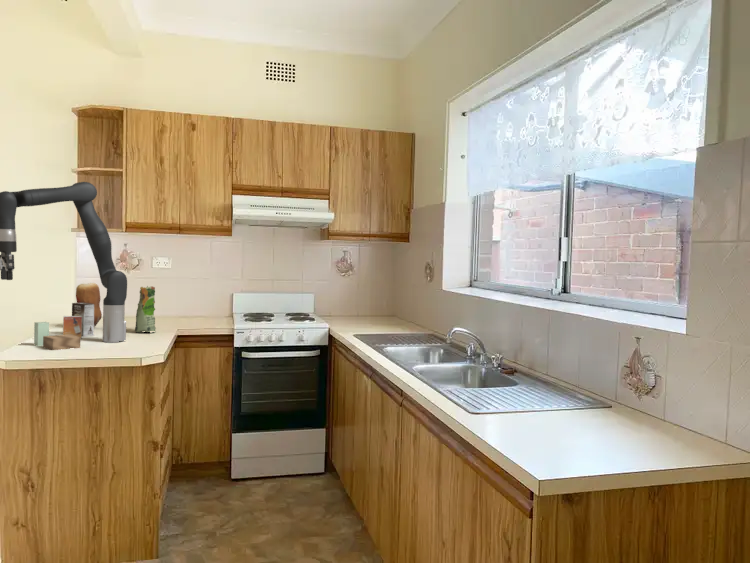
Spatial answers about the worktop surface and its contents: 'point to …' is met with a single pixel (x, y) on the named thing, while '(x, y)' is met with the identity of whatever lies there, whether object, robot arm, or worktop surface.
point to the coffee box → (85, 316)
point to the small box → (72, 325)
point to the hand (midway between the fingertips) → (6, 279)
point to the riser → (61, 342)
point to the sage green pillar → (40, 332)
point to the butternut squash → (90, 298)
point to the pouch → (146, 310)
